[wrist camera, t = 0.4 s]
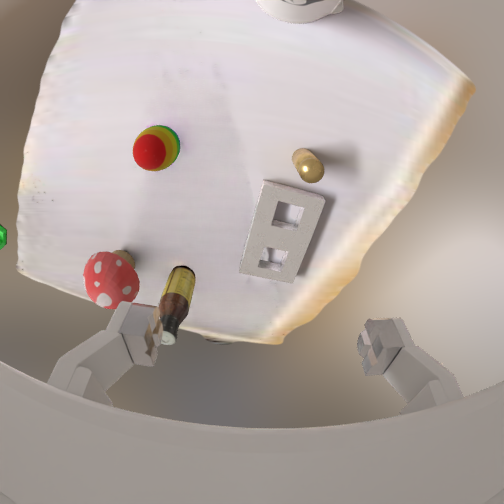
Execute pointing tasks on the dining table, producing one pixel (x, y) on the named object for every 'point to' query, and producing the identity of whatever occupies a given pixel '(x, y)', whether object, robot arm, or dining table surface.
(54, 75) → the dining table surface
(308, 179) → the brass cylinder
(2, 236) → the mechanical part
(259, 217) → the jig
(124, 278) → the decorative mushroom
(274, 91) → the dining table surface
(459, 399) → the robot arm
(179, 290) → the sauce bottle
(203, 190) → the dining table surface
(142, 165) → the decorative egg
